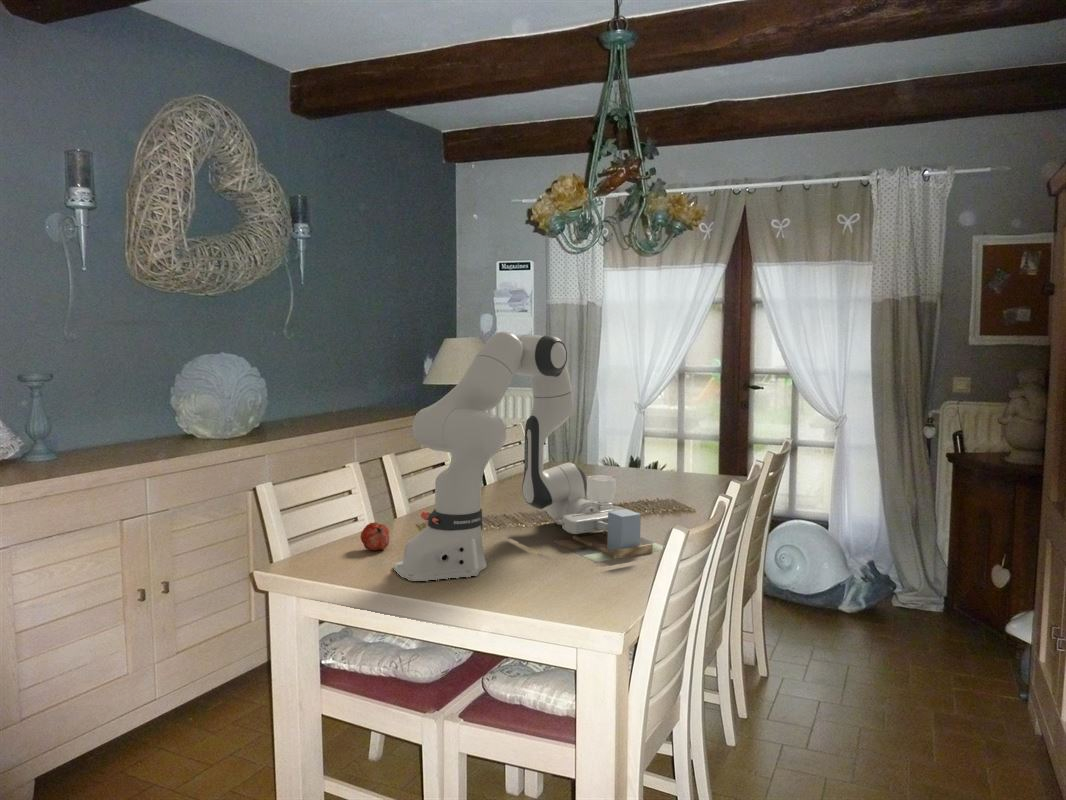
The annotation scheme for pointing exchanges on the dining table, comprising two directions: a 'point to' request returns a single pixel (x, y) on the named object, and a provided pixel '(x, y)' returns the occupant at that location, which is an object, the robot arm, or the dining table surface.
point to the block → (623, 529)
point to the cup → (600, 488)
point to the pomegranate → (375, 536)
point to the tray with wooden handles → (605, 547)
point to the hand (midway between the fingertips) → (614, 527)
